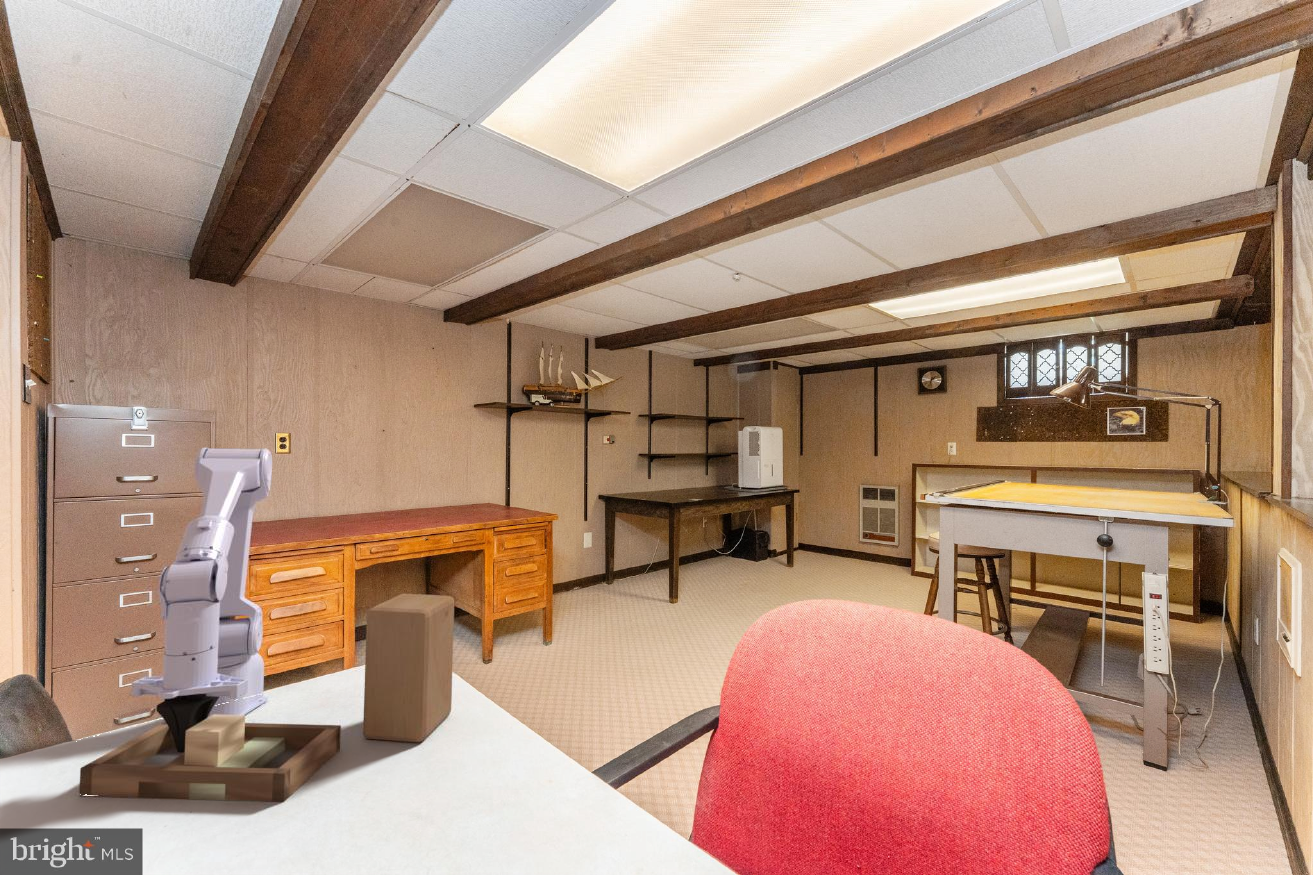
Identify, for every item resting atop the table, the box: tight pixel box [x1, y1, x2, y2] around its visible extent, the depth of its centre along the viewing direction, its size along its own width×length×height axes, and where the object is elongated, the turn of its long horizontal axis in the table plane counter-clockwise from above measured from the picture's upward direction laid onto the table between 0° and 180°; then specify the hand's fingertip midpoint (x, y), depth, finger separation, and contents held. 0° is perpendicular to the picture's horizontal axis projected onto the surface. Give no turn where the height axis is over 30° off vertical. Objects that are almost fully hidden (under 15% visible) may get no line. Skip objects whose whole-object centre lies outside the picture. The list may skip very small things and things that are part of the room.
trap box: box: [78, 721, 342, 803], centre depth 75 cm, size 12×26×4 cm, turn 89°
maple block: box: [184, 714, 246, 766], centre depth 75 cm, size 4×4×4 cm
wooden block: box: [362, 593, 455, 743], centre depth 88 cm, size 10×10×20 cm
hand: (187, 748), depth 75 cm, fingers closed
